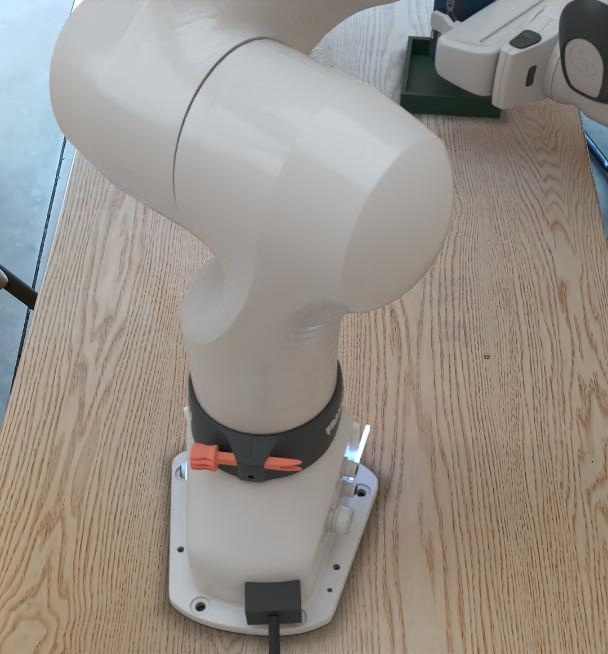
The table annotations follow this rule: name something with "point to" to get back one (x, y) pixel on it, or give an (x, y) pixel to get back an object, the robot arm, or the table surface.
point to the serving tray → (437, 88)
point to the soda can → (455, 15)
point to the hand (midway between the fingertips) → (457, 1)
